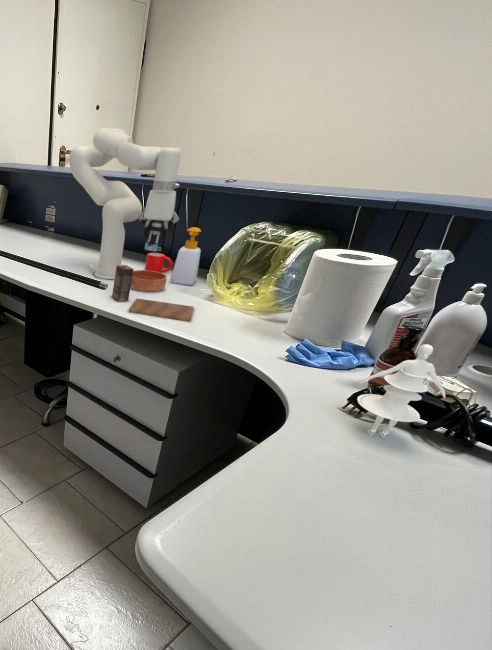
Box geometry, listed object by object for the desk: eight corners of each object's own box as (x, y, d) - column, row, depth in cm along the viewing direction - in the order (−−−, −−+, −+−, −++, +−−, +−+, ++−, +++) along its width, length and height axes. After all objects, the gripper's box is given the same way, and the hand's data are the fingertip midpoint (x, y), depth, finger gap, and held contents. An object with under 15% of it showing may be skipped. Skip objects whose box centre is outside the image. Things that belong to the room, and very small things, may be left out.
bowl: (123, 289, 164) (125, 277, 162) (131, 280, 176) (132, 268, 173) (161, 294, 159) (163, 282, 156) (166, 284, 170) (168, 272, 168)
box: (129, 301, 152) (134, 268, 146) (118, 301, 151) (122, 269, 145) (122, 296, 157) (126, 264, 151) (111, 296, 156) (115, 265, 150)
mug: (168, 276, 182) (171, 258, 178) (142, 272, 187) (145, 254, 183) (173, 272, 187) (176, 255, 183) (147, 268, 193) (150, 251, 189)
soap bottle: (167, 285, 170) (178, 229, 158) (173, 277, 180) (184, 224, 169) (191, 289, 166) (204, 231, 154) (196, 280, 176) (209, 226, 165)
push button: (162, 250, 160) (169, 224, 155) (159, 253, 156) (166, 226, 150) (145, 247, 162) (151, 221, 157) (142, 250, 158) (148, 223, 153)
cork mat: (128, 312, 141) (129, 309, 141) (136, 300, 152) (137, 298, 152) (189, 321, 134) (190, 319, 134) (193, 308, 145) (193, 306, 145)
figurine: (406, 428, 84) (461, 339, 74) (425, 456, 76) (489, 360, 66) (331, 413, 88) (373, 327, 78) (342, 438, 80) (390, 346, 70)
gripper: (189, 187, 147) (178, 239, 157) (141, 184, 154) (133, 235, 163) (187, 188, 142) (176, 242, 151) (137, 186, 148) (130, 238, 157)
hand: (154, 238), depth 157 cm, fingers closed on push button, 5 cm apart
